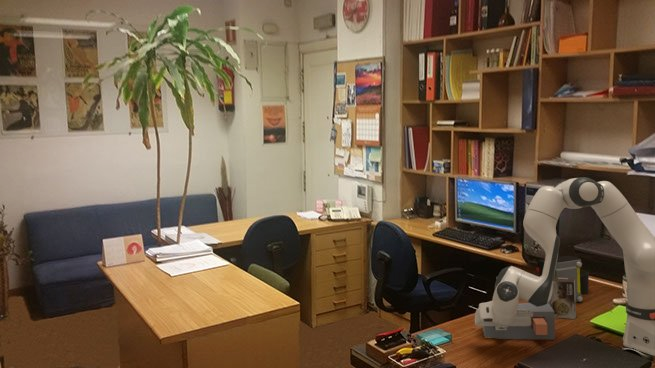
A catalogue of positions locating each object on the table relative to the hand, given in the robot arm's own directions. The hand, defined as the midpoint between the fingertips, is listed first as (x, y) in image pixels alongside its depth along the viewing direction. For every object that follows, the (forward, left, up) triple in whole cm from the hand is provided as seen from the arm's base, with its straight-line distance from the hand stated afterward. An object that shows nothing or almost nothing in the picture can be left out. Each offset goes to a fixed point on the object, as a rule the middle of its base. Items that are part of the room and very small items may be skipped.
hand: (501, 327), depth 210 cm
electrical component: (+27, -51, -6) cm, 58 cm away
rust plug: (-5, -13, -1) cm, 14 cm away
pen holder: (+35, -68, -6) cm, 77 cm away
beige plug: (+5, -3, -1) cm, 6 cm away
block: (+3, -10, -6) cm, 12 cm away
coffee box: (+12, -40, -6) cm, 42 cm away
